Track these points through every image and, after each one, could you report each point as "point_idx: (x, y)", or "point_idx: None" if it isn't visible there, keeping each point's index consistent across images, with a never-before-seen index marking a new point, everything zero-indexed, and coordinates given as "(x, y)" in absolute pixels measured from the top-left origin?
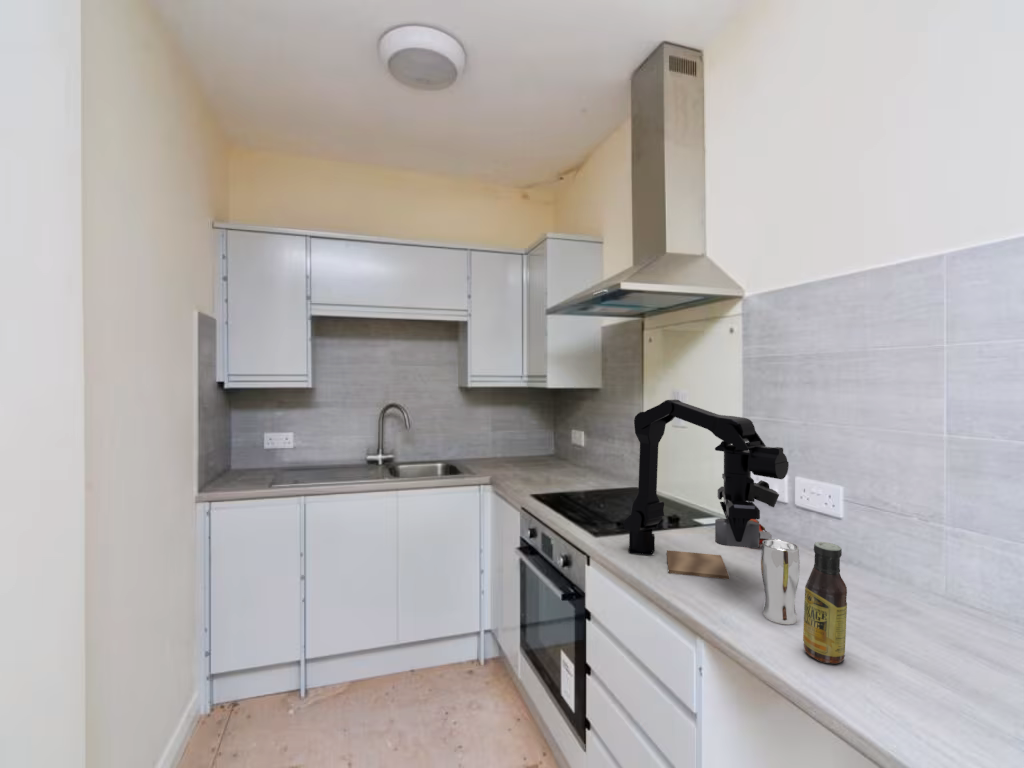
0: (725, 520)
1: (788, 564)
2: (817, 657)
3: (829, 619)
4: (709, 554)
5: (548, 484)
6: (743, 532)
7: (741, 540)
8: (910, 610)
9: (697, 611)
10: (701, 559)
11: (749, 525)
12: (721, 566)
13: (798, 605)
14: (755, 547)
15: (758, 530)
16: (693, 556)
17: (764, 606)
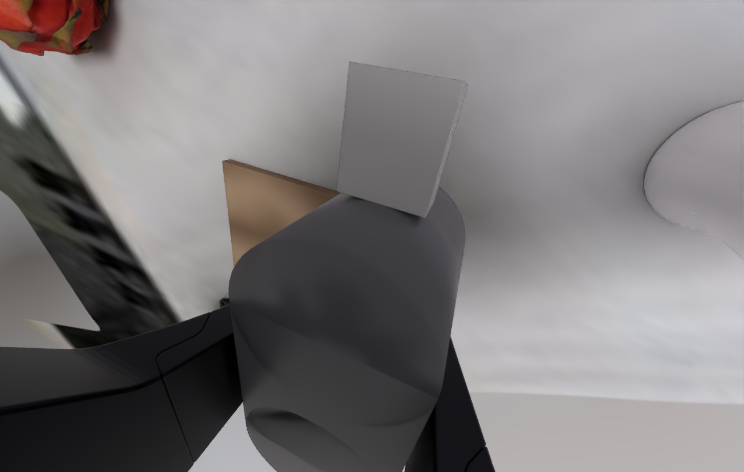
0: (284, 446)
1: None
2: None
3: None
4: (228, 193)
5: (34, 325)
6: (471, 409)
7: (451, 340)
8: None
9: (586, 381)
10: (268, 231)
11: (416, 396)
12: (304, 197)
13: (633, 17)
14: (463, 225)
15: (422, 256)
16: (254, 242)
17: (701, 232)
